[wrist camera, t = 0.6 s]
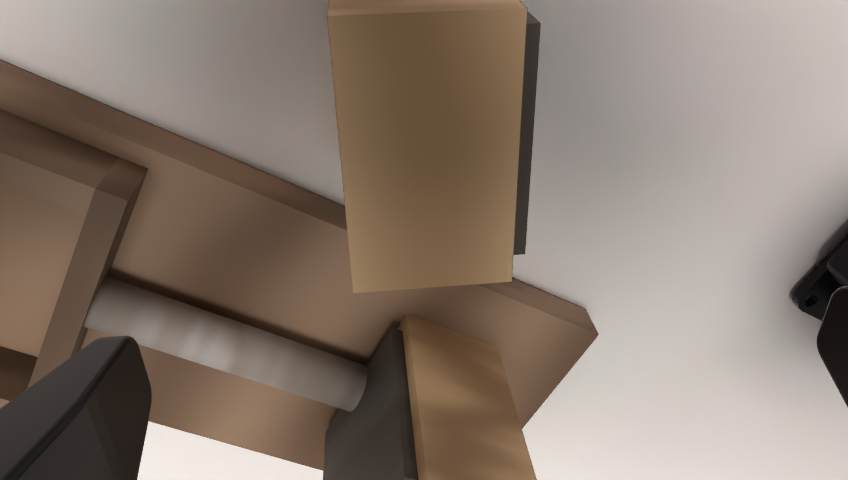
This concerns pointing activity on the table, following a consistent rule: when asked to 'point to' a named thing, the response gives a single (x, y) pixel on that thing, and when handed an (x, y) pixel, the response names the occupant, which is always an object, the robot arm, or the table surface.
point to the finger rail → (255, 304)
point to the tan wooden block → (434, 137)
